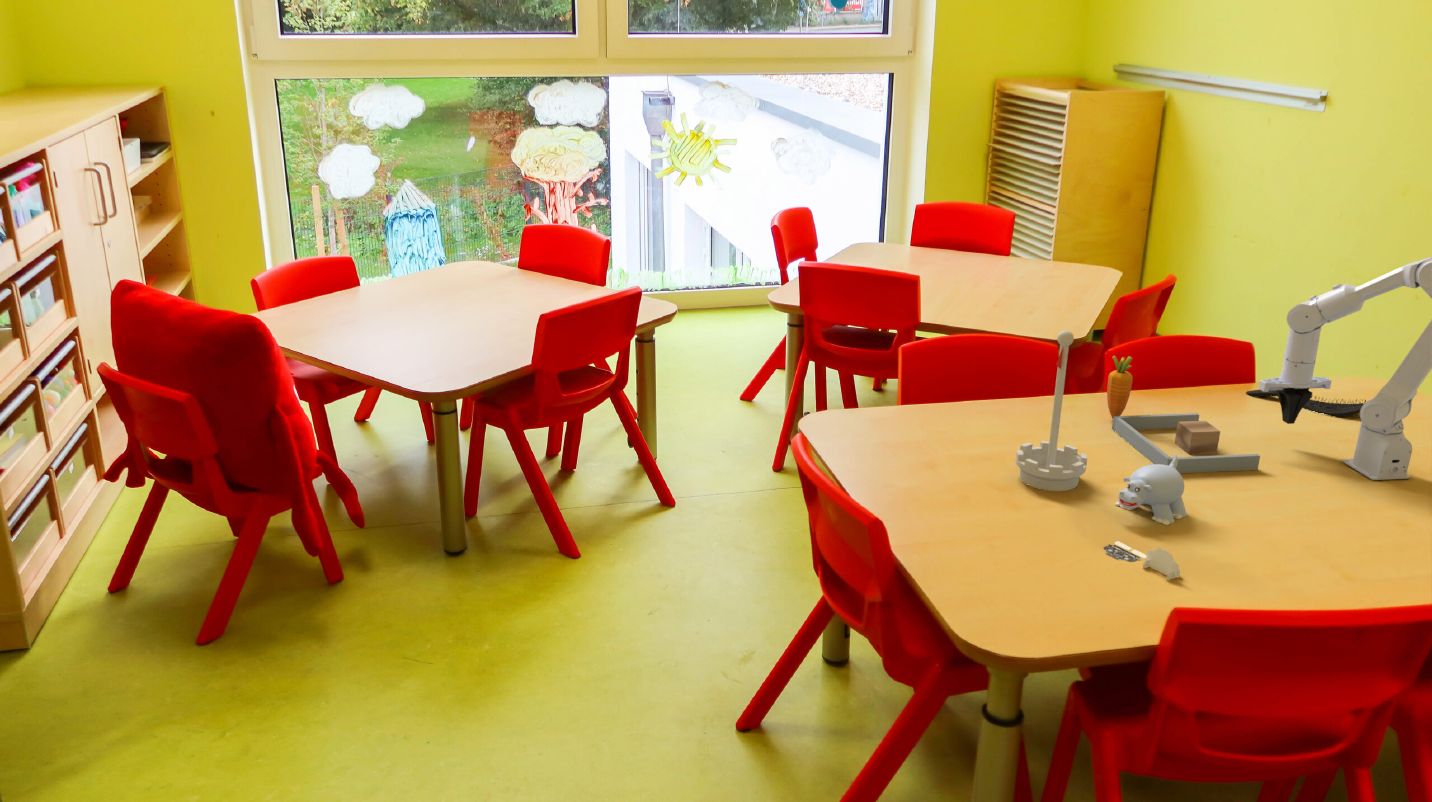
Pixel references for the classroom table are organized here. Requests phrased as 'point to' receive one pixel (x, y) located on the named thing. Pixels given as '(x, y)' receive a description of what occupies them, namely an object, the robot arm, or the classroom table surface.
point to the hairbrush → (1320, 404)
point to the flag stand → (1053, 443)
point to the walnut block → (1197, 437)
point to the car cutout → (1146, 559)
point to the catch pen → (1127, 430)
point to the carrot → (1119, 387)
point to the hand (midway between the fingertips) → (1288, 422)
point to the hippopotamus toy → (1156, 491)
